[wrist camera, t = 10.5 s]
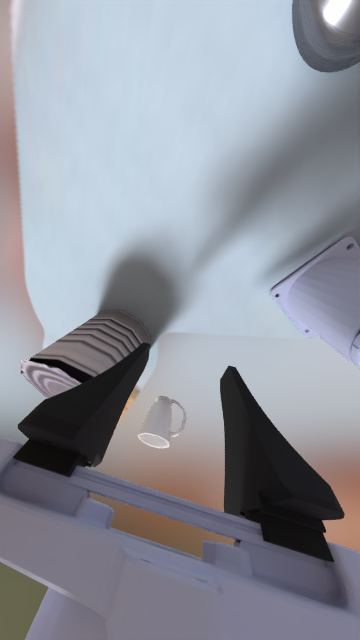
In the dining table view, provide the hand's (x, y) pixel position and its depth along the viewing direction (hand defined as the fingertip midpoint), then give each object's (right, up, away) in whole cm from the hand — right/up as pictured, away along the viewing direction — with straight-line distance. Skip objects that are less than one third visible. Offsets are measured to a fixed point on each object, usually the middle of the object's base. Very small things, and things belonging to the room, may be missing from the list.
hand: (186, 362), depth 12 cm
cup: (-3, -16, +22) cm, 27 cm away
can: (-11, +1, +13) cm, 17 cm away
